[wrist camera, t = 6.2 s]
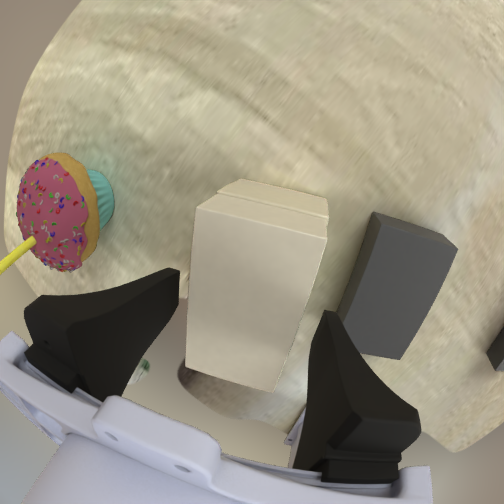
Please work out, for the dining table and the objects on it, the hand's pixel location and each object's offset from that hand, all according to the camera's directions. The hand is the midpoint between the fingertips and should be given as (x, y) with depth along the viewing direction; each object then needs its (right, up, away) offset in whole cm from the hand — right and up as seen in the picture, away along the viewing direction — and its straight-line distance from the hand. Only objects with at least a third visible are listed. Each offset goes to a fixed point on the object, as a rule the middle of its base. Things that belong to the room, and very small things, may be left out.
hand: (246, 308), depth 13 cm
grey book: (+10, 0, +5) cm, 11 cm away
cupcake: (-13, +7, +7) cm, 16 cm away
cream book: (0, +1, +1) cm, 2 cm away
